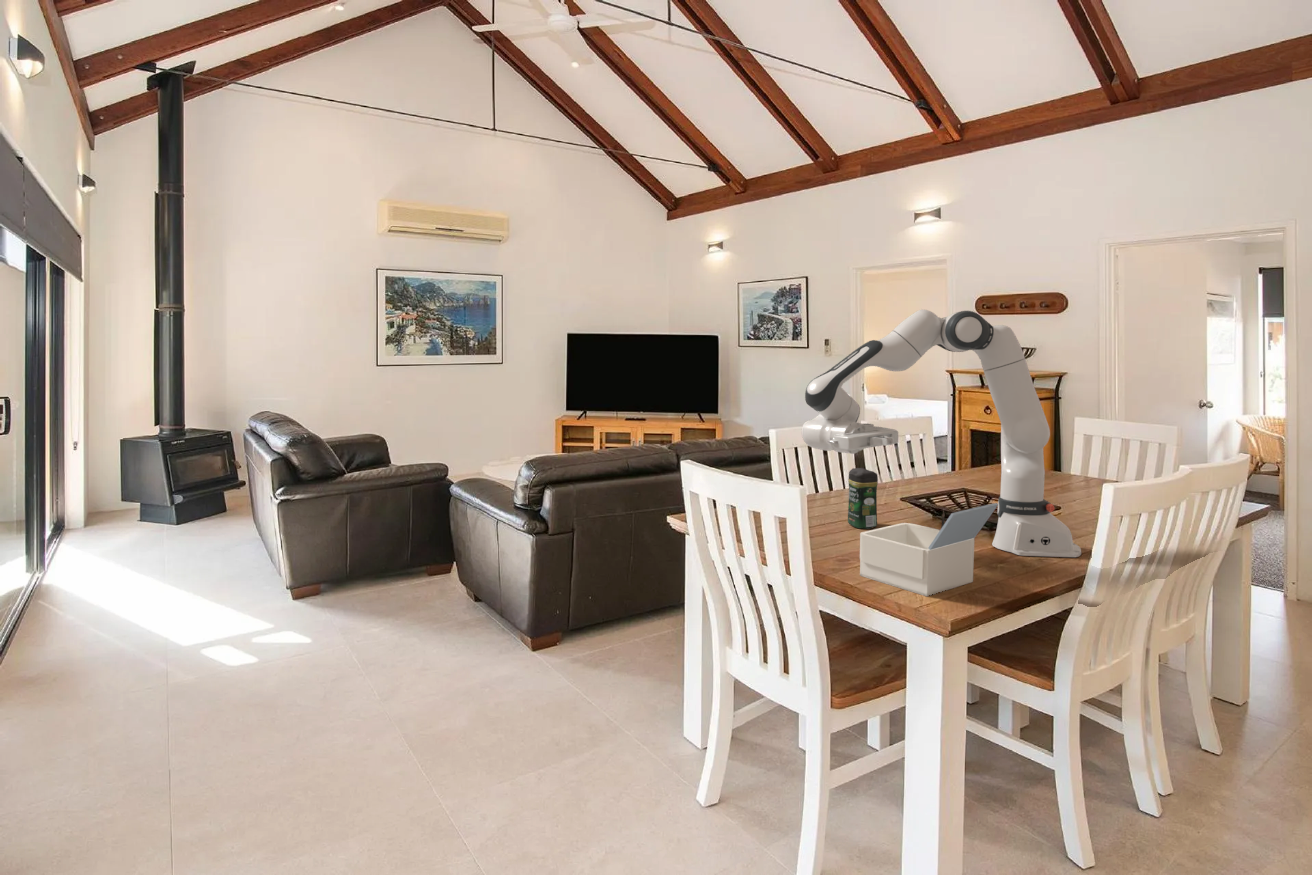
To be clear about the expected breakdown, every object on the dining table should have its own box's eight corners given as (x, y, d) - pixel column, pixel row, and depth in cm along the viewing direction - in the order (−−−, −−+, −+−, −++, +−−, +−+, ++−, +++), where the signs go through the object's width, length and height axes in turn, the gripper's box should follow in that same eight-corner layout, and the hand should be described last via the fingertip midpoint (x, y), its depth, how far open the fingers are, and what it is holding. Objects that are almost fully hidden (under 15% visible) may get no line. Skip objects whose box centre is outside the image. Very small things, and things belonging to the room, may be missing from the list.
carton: (856, 575, 196) (857, 533, 195) (905, 562, 207) (906, 522, 206) (925, 597, 179) (926, 551, 178) (974, 581, 190) (975, 537, 189)
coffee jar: (843, 523, 251) (844, 466, 248) (866, 521, 252) (867, 465, 250) (857, 530, 241) (858, 471, 239) (880, 528, 243) (882, 470, 241)
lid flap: (951, 513, 173) (953, 514, 172) (996, 502, 182) (998, 504, 182) (928, 548, 179) (929, 549, 178) (972, 536, 188) (974, 537, 188)
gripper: (823, 429, 208) (864, 433, 197) (873, 423, 220) (914, 426, 209) (823, 452, 209) (864, 458, 198) (873, 445, 221) (914, 449, 210)
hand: (890, 441), depth 203 cm, fingers closed
